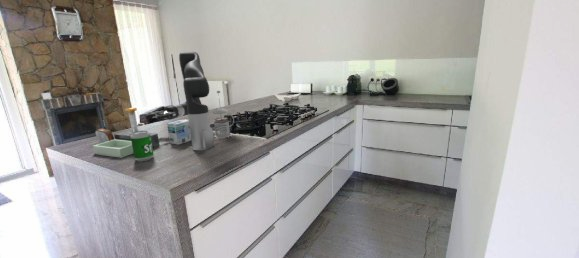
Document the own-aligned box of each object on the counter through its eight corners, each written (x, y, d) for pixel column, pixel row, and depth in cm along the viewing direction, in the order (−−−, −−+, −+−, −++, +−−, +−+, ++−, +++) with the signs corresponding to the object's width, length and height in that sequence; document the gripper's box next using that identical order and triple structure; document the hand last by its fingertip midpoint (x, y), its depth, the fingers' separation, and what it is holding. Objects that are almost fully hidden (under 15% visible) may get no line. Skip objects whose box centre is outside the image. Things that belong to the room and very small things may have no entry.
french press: (215, 134, 156) (210, 90, 150) (235, 132, 158) (232, 88, 151) (212, 139, 147) (207, 92, 141) (234, 137, 148) (230, 90, 142)
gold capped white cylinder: (145, 144, 142) (138, 107, 137) (137, 147, 138) (130, 109, 133) (138, 143, 144) (131, 107, 139) (130, 146, 140) (123, 109, 135)
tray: (142, 149, 133) (140, 142, 132) (121, 157, 123) (119, 149, 122) (116, 146, 140) (114, 139, 139) (94, 153, 130) (92, 145, 129)
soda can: (141, 163, 115) (136, 135, 112) (131, 160, 119) (126, 133, 116) (157, 157, 122) (153, 131, 119) (147, 154, 126) (143, 129, 123)
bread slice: (116, 146, 141) (113, 130, 139) (109, 147, 139) (106, 131, 137) (102, 142, 149) (99, 127, 147) (96, 143, 147) (92, 128, 145)
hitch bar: (159, 145, 140) (157, 133, 138) (147, 149, 134) (145, 137, 132) (128, 141, 148) (126, 130, 147) (116, 145, 142) (114, 134, 140)
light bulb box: (178, 145, 139) (175, 124, 136) (169, 143, 142) (166, 123, 139) (194, 139, 148) (192, 119, 145) (186, 138, 151) (183, 118, 148)
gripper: (164, 105, 164) (140, 110, 149) (183, 105, 159) (160, 111, 144) (166, 117, 166) (143, 123, 151) (184, 118, 161) (162, 125, 146)
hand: (151, 117), depth 148 cm, fingers open, 8 cm apart
